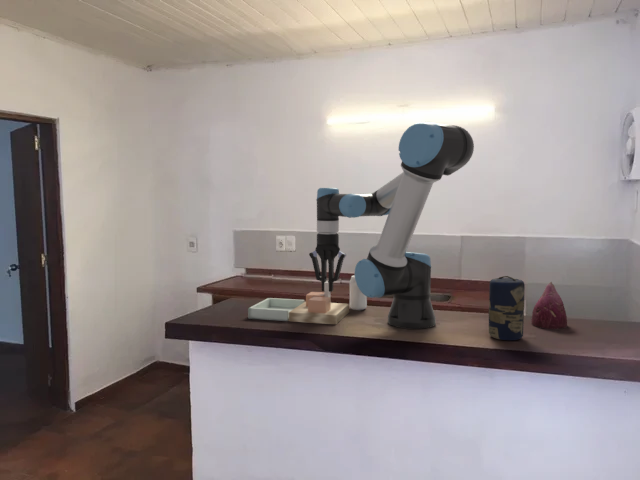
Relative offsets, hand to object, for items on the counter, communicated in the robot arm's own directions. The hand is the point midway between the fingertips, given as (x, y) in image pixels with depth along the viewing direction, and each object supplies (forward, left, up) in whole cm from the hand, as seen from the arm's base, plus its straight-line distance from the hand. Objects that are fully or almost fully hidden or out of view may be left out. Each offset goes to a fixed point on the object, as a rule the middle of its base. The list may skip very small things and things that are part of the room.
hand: (327, 300), depth 180 cm
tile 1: (0, +8, -2) cm, 9 cm away
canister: (-58, +15, -5) cm, 60 cm away
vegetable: (-72, -4, -5) cm, 72 cm away
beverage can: (-9, -11, -5) cm, 15 cm away
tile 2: (+4, 0, -2) cm, 4 cm away
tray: (+17, +4, -5) cm, 18 cm away
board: (+1, +4, -5) cm, 7 cm away
